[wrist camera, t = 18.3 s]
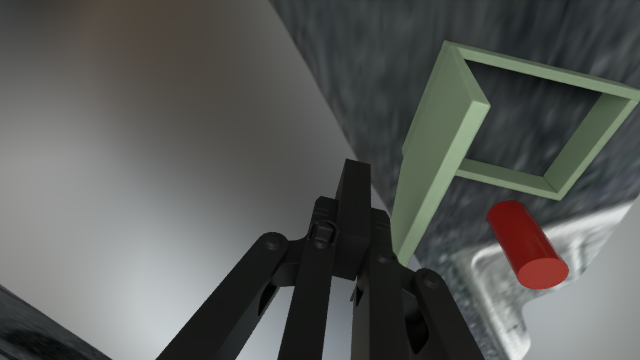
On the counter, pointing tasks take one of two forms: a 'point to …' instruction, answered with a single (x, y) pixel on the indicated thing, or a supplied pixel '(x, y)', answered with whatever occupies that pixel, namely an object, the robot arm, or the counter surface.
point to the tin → (526, 246)
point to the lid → (436, 151)
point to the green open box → (578, 148)
